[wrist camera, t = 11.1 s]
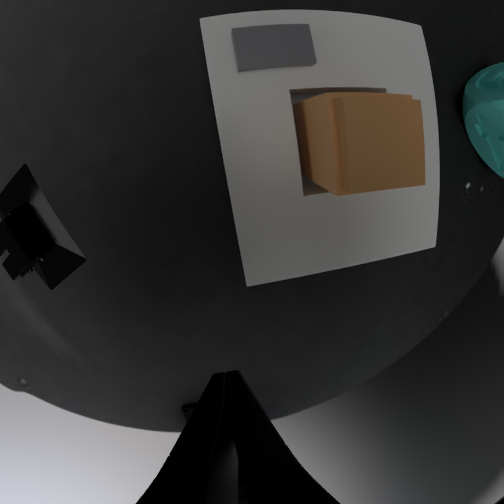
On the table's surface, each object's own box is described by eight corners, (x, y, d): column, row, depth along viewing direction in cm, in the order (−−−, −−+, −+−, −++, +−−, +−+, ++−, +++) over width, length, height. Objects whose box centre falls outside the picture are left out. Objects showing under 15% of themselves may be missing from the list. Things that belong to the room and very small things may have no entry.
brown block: (365, 167, 18) (429, 190, 11) (302, 175, 18) (345, 201, 11) (359, 101, 16) (424, 94, 9) (292, 104, 16) (333, 89, 9)
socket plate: (413, 232, 21) (441, 251, 17) (243, 264, 20) (248, 293, 17) (398, 34, 14) (427, 23, 11) (203, 35, 14) (198, 13, 10)
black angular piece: (-14, 194, 16) (-47, 210, 12) (29, 138, 15) (-9, 145, 11) (60, 304, 21) (38, 335, 17) (111, 267, 20) (90, 299, 16)
